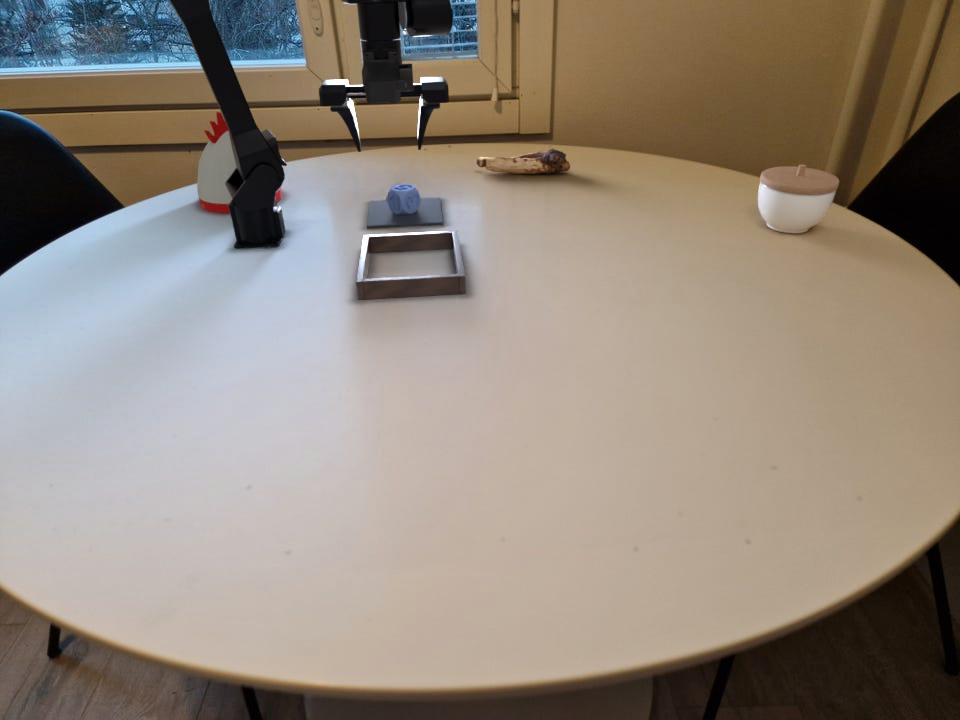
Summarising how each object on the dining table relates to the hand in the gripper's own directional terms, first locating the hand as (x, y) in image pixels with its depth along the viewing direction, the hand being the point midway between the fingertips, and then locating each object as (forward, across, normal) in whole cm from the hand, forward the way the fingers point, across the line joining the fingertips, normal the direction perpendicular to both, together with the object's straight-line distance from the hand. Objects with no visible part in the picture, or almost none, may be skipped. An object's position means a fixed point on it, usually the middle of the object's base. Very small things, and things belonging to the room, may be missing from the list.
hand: (389, 150), depth 101 cm
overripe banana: (+11, +25, +22) cm, 35 cm away
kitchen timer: (+11, -27, +13) cm, 32 cm away
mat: (+11, +2, +2) cm, 11 cm away
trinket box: (+10, +61, -13) cm, 63 cm away
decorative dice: (+10, +2, +1) cm, 11 cm away
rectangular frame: (+11, +2, -22) cm, 24 cm away
